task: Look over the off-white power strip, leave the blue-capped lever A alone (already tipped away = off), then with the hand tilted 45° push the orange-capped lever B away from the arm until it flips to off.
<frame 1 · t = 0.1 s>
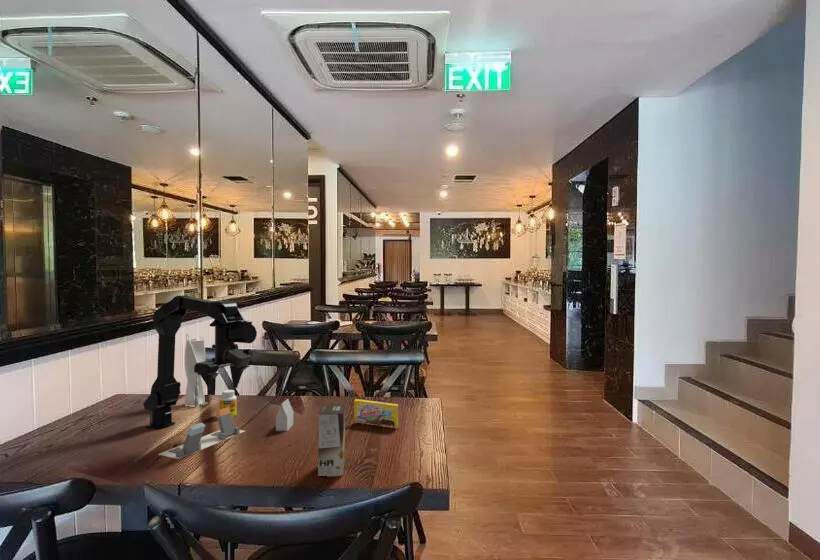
hand: (224, 391, 146), 15 cm above the table, tool pointing down, fingers open, 9 cm apart
skyscraper: (194, 405, 183), on the table
coffee box: (331, 470, 122), on the table
lever A: (193, 438, 128), point 6 cm above the table, hinge at 22.0°
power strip: (204, 446, 138), on the table
grey house block: (284, 432, 152), on the table
supplement bottle: (228, 420, 164), on the table
lever B: (225, 421, 143), point 6 cm above the table, hinge at -20.0°
candy box: (375, 426, 159), on the table
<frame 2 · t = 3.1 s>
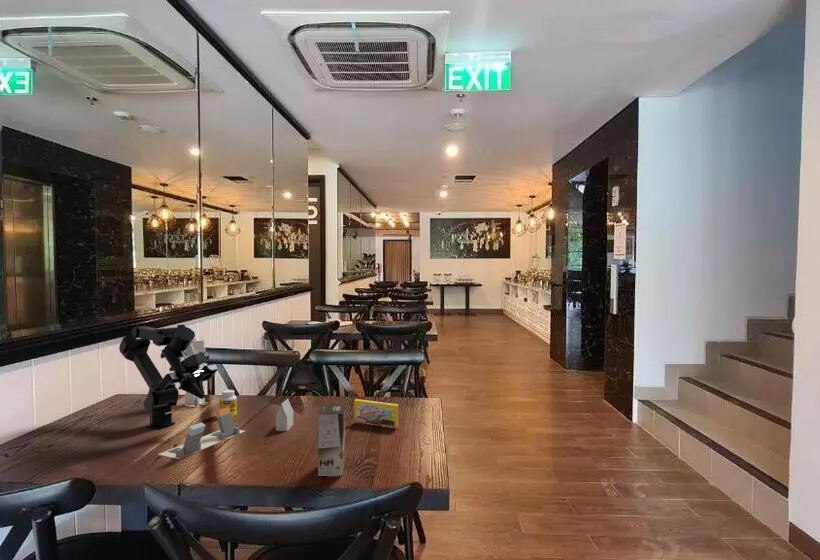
hand: (203, 397, 147), 12 cm above the table, tool tilted 45°, fingers closed
nothing on the table moved.
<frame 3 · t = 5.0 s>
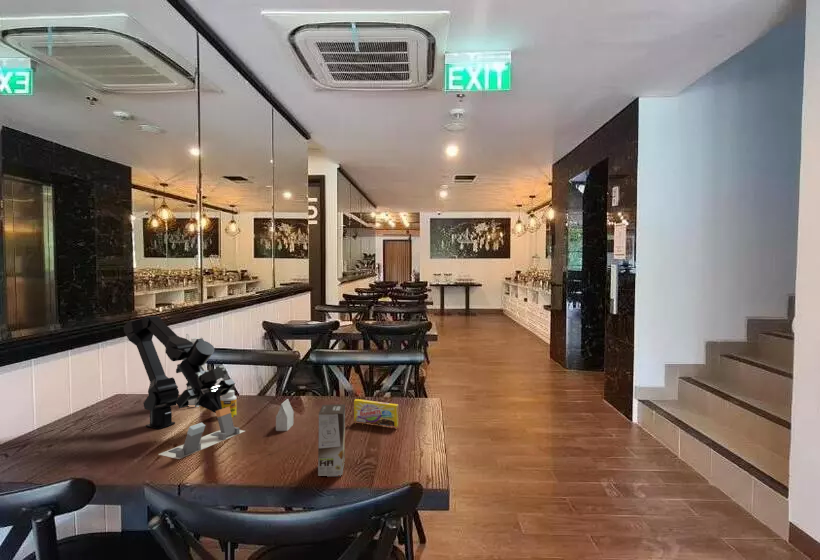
hand: (221, 413, 144), 8 cm above the table, tool tilted 45°, fingers closed, pressing on lever B
lever B: (225, 421, 143), point 6 cm above the table, hinge at -18.3°, touching gripper
everything else where it was.
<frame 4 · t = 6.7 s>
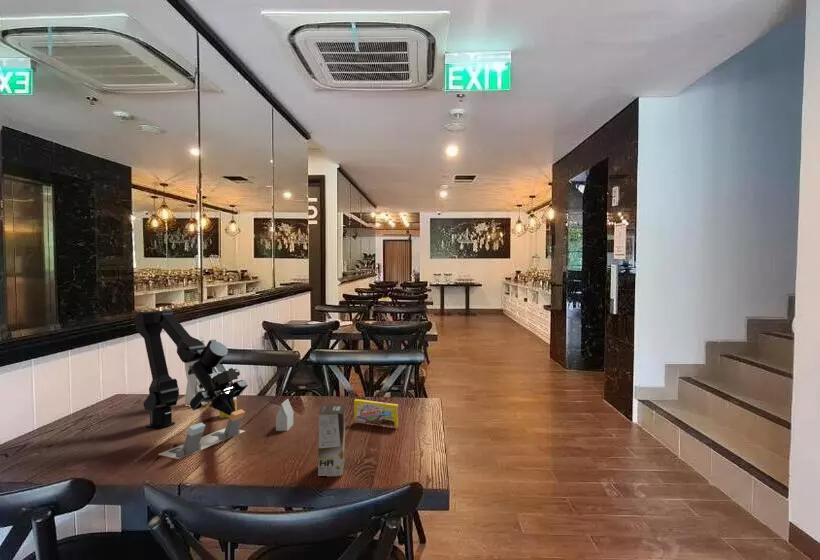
hand: (234, 416, 142), 8 cm above the table, tool tilted 45°, fingers closed, pressing on lever B
lever B: (233, 423, 142), point 6 cm above the table, hinge at 24.2°, touching gripper
everything else where it was.
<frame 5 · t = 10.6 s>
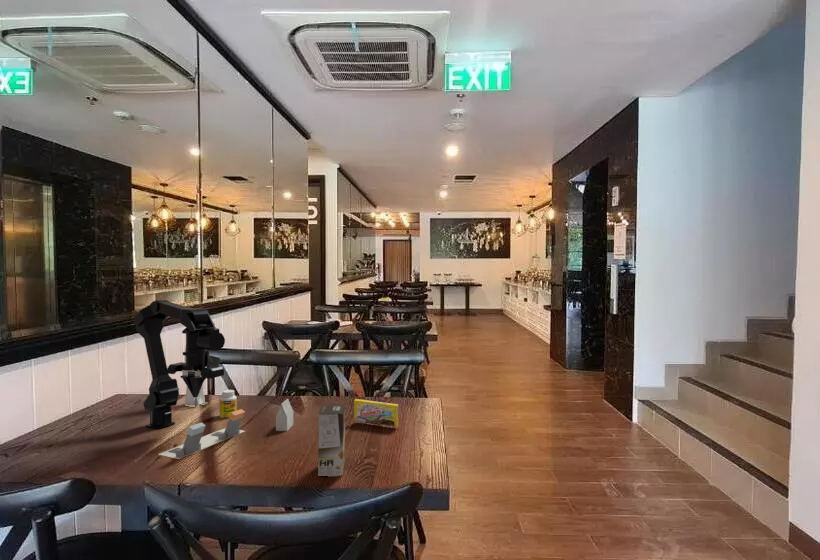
hand: (195, 397, 148), 12 cm above the table, tool pointing down, fingers closed
lever B: (233, 423, 142), point 6 cm above the table, hinge at 24.3°
everything else where it was.
at the end: lever B at +24° (first picture: -20°); lever A at +22° (first picture: +22°) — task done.
